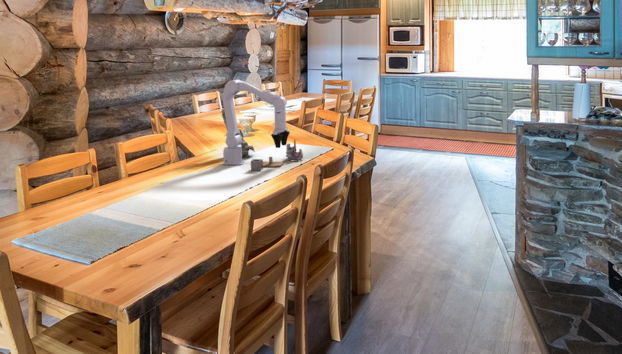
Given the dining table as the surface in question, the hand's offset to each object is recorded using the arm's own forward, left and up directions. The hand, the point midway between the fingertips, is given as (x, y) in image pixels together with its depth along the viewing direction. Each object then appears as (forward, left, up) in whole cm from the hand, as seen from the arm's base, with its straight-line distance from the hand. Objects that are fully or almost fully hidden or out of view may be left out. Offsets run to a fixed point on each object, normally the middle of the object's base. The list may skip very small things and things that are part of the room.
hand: (280, 146), depth 294 cm
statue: (-28, +23, -10) cm, 38 cm away
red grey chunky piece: (+4, +15, -10) cm, 19 cm away
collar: (-10, -12, -10) cm, 19 cm away
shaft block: (-5, -1, -10) cm, 11 cm away
